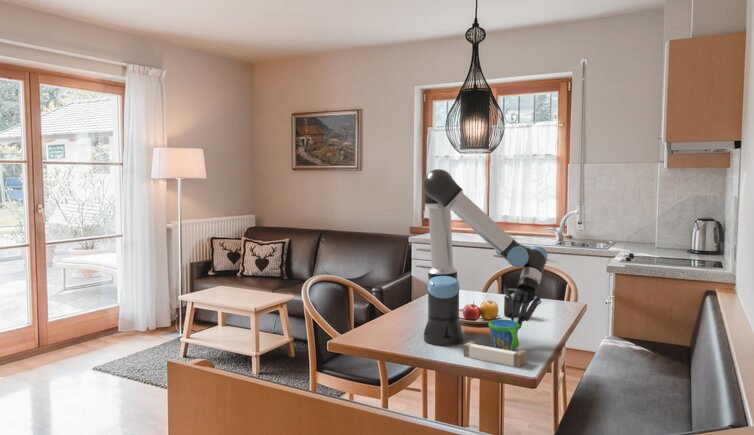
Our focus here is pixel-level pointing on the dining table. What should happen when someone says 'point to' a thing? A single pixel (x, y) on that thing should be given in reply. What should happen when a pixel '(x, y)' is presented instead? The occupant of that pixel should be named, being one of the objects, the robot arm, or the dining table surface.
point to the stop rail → (495, 354)
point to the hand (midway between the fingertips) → (512, 335)
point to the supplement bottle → (507, 302)
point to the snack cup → (504, 334)
